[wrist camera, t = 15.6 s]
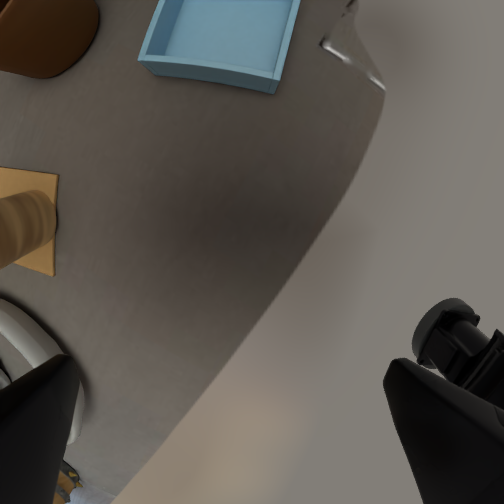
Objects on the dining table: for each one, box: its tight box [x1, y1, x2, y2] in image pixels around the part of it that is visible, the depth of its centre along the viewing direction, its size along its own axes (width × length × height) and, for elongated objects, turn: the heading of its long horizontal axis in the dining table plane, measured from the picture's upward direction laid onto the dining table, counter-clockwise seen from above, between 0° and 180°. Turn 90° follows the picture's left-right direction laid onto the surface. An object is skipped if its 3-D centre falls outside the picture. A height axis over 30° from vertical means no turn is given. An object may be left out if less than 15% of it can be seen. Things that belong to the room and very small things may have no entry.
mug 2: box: [53, 461, 83, 504], centre depth 20 cm, size 13×17×20 cm
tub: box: [138, 0, 301, 94], centre depth 13 cm, size 8×8×3 cm
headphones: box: [0, 299, 84, 446], centre depth 20 cm, size 18×8×20 cm
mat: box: [0, 167, 59, 276], centre depth 18 cm, size 13×8×1 cm, turn 77°
